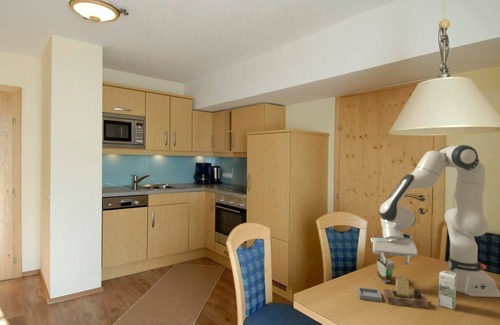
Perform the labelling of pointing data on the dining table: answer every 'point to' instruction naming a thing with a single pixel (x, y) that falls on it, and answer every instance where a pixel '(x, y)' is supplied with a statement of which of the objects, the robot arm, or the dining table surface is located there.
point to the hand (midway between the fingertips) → (396, 263)
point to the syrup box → (447, 289)
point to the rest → (369, 294)
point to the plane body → (407, 299)
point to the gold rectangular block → (402, 288)
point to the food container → (384, 270)
